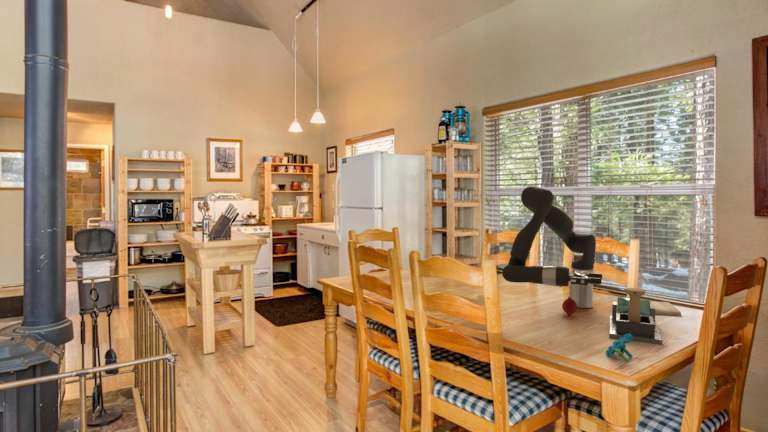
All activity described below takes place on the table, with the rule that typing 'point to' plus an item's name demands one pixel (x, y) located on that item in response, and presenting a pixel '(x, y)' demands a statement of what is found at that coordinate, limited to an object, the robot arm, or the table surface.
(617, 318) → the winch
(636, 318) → the handle
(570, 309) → the onion
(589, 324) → the table surface
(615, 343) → the teal lobed piece
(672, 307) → the washcloth
